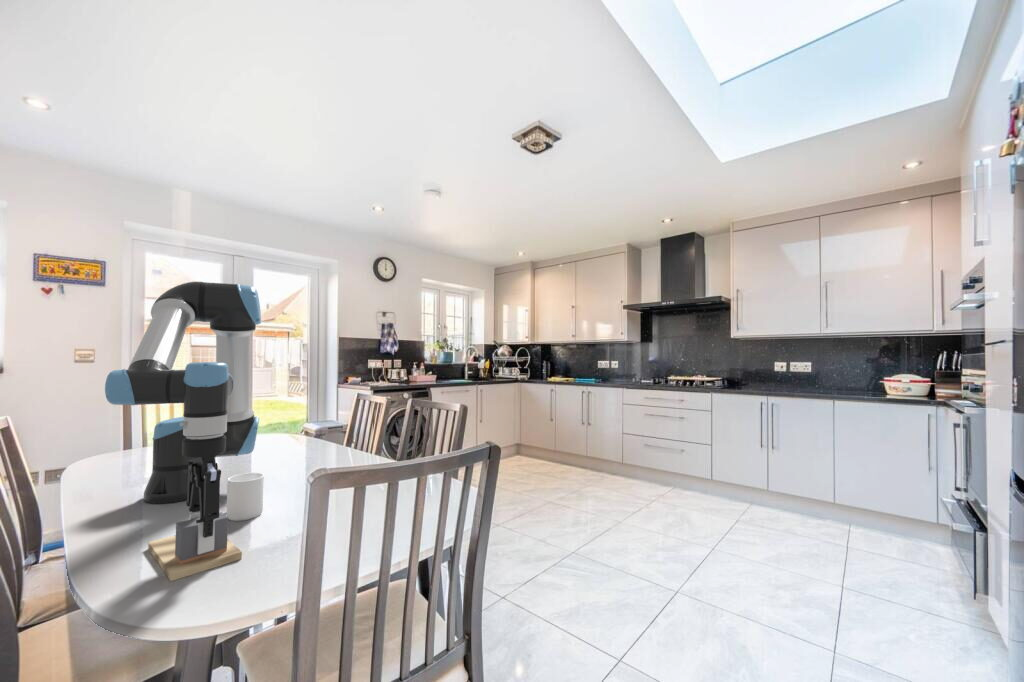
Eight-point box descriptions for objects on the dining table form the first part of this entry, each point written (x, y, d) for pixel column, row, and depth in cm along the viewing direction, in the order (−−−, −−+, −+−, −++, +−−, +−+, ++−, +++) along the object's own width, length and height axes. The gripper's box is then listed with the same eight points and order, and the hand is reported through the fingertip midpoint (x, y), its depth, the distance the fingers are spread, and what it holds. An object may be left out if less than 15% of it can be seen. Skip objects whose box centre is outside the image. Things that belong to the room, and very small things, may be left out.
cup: (233, 523, 109) (235, 483, 110) (215, 512, 117) (217, 474, 117) (268, 514, 116) (269, 476, 116) (249, 504, 123) (250, 468, 123)
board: (148, 548, 95) (148, 541, 95) (212, 532, 104) (212, 525, 104) (170, 581, 82) (171, 573, 82) (241, 558, 91) (241, 551, 91)
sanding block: (174, 557, 89) (176, 522, 89) (220, 544, 95) (221, 512, 95) (180, 564, 86) (181, 528, 86) (226, 550, 92) (227, 517, 92)
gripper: (171, 432, 94) (167, 539, 93) (196, 445, 82) (192, 568, 81) (212, 427, 99) (208, 529, 99) (240, 439, 88) (237, 554, 87)
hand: (201, 546), depth 90 cm, fingers open, 5 cm apart
